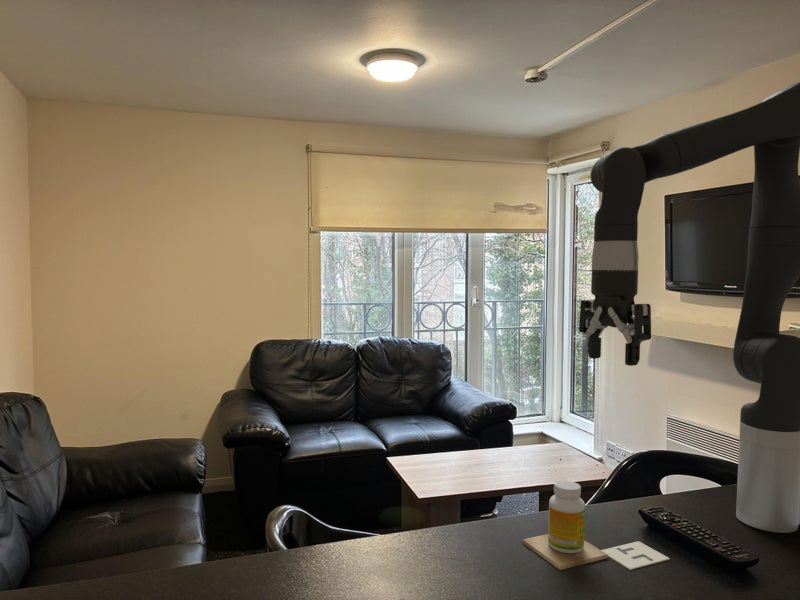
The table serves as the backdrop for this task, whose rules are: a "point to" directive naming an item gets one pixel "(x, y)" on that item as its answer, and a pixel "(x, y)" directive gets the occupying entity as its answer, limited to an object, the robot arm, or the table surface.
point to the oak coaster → (563, 559)
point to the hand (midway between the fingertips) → (612, 361)
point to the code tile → (635, 555)
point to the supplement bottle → (566, 518)
